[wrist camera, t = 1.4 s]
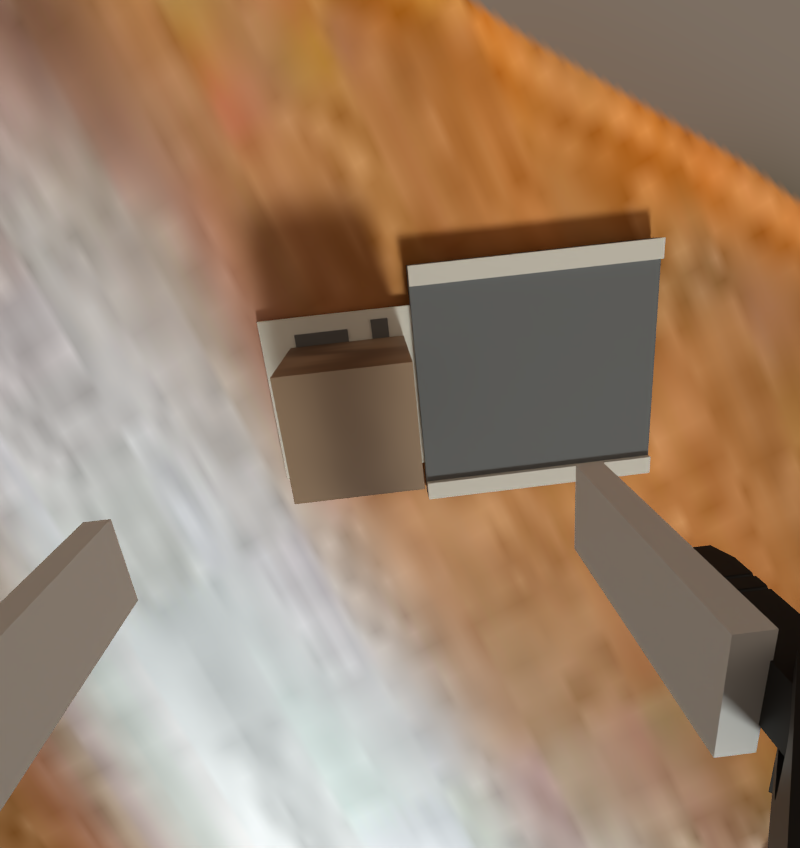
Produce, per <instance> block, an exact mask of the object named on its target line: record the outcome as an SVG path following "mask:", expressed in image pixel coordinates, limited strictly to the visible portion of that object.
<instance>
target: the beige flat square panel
mask: <svg viewBox="0 0 800 848" xmlns="http://www.w3.org/2000/svg"><path fill="white" fill-rule="evenodd" d="M257 326H258V331H259V336H260V341H261V346H262V351H263V357H264V362H265V367H266V372H267V377H268V382H269V387H270V392H271V397H272V402H273V408H274V413H275V418H276V423H277V428H278V433H279V438H280V443H281V448H282V454H283V459H284V464H285V469H286V474H287V479H290V477H289V472H288V467H287V462H286V457H285V452H284V447H283V442H282V437H281V432H280V427H279V422H278V417H277V412H276V407H275V402H274V396H273V391H272V386H271V381H270V377H271V376H272V374H273V373H274V371H275V370H276V369H277V367H278V366H279V364H280V363H281V361H282V360H283V358H284V357H285V355H286V354H287V352H288V351H289V350H290V348H296V347H305V346H314V345H323V344H332V343H340V342H349V341H358V340H367V339H376V338H385V337H394V336H403V335H404V338H405V341H406V344H407V347H408V350H409V353H410V355H411V358H412V361H413V370H414V380H415V391H416V402H417V412H418V423H419V433H420V444H421V454H422V463H424V462H425V459H424V448H423V437H422V427H421V416H420V406H419V395H418V384H417V374H416V363H415V353H414V342H413V331H412V321H411V310H410V305H402V306H393V307H384V308H375V309H366V310H357V311H349V312H340V313H331V314H322V315H313V316H304V317H295V318H286V319H277V320H268V321H259V322H257Z"/></svg>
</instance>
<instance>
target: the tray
mask: <svg viewBox="0 0 800 848" xmlns="http://www.w3.org/2000/svg"><path fill="white" fill-rule="evenodd" d="M664 251H665V238H648V239H639V240H630V241H621V242H612V243H603V244H593V245H584V246H575V247H566V248H557V249H548V250H539V251H530V252H521V253H512V254H503V255H494V256H485V257H476V258H467V259H457V260H448V261H439V262H430V263H421V264H412V265H406V272H407V282H408V293H409V304H410V310H411V321H412V331H413V342H414V353H415V363H416V374H417V384H418V395H419V406H420V416H421V427H422V437H423V448H424V459H425V462H424V463H425V473H426V484H427V492H428V496H429V499H436V498H445V497H453V496H461V495H469V494H478V493H486V492H494V491H502V490H511V489H519V488H527V487H535V486H543V485H552V484H560V483H568V482H576V465H581V464H590V463H599V462H603V463H604V464H605V465H606V466H607V467H608V468H610V469H611V470H612V471H613V472H614V473H615V474H616V475H617V476H626V475H634V474H642V473H649V470H650V456H648V443H649V428H650V413H651V398H652V383H653V368H654V353H655V338H656V323H657V308H658V293H659V278H660V263H661V259H664Z"/></svg>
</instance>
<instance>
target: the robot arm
mask: <svg viewBox="0 0 800 848" xmlns="http://www.w3.org/2000/svg"><path fill="white" fill-rule="evenodd" d="M575 550H576V551H577V553H578V554H579V556H580V557H581V559H582V560H583V562H584V563H585V565H586V566H587V568H588V569H589V571H590V572H591V574H592V575H593V577H594V578H595V580H596V581H597V583H598V584H599V586H600V587H601V589H602V590H603V592H604V593H605V595H606V596H607V598H608V599H609V601H610V602H611V604H612V605H613V607H614V608H615V610H616V611H617V613H618V614H619V616H620V617H621V619H622V620H623V622H624V623H625V625H626V626H627V628H628V629H629V631H630V632H631V634H632V635H633V637H634V638H635V640H636V641H637V643H638V644H639V646H640V647H641V649H642V650H643V652H644V653H645V655H646V657H647V658H648V660H649V661H650V663H651V664H652V666H653V667H654V669H655V670H656V672H657V673H658V675H659V676H660V678H661V679H662V681H663V682H664V684H665V685H666V687H667V688H668V690H669V691H670V693H671V694H672V696H673V697H674V699H675V700H676V702H677V703H678V705H679V706H680V708H681V709H682V711H683V712H684V714H685V715H686V717H687V718H688V720H689V721H690V723H691V724H692V726H693V727H694V729H695V730H696V732H697V733H698V735H699V736H700V738H701V739H702V741H703V742H704V744H705V745H706V747H707V748H708V750H709V751H710V753H711V754H712V756H713V757H714V758H715V757H723V756H731V755H739V754H747V753H755V752H756V749H757V744H758V738H759V733H760V728H762V729H763V731H764V732H765V733H766V734H767V735H768V737H769V738H770V739H771V740H772V742H773V743H774V744H775V745H776V747H777V753H776V758H775V763H774V768H773V773H772V778H771V782H770V787H769V792H770V793H772V802H771V814H770V826H769V838H768V848H800V614H799V613H798V612H797V611H796V610H795V609H793V608H792V607H791V606H790V605H789V604H788V603H787V602H785V601H784V600H783V599H782V598H781V597H780V596H778V595H777V594H776V593H775V592H774V591H773V590H772V589H768V588H767V585H766V584H765V583H763V582H762V581H761V580H760V579H759V578H758V577H757V576H753V574H752V572H751V571H750V570H748V569H747V568H746V567H745V566H744V565H743V564H742V563H740V562H739V561H738V560H737V559H736V558H735V557H733V556H731V555H729V554H727V553H725V552H723V551H721V550H719V549H717V548H715V547H713V546H711V545H709V546H701V547H692V546H691V545H690V544H689V543H688V542H686V541H685V540H684V539H683V538H682V537H681V536H680V535H679V534H678V533H677V532H676V531H675V530H674V529H673V528H672V527H671V526H670V525H669V524H668V523H666V522H665V521H664V520H663V519H662V518H661V517H660V516H659V515H658V514H657V513H656V512H655V511H654V510H653V509H652V508H651V507H650V506H649V505H647V504H646V503H645V502H644V501H643V500H642V499H641V498H640V497H639V496H638V495H637V494H636V493H635V492H634V491H633V490H632V489H631V488H630V487H628V486H627V485H626V484H625V483H624V482H623V481H622V480H621V479H620V478H619V477H618V476H617V475H616V474H615V473H614V472H613V471H612V470H611V469H610V468H608V467H607V466H606V465H605V464H604V463H603V462H599V463H590V464H581V465H576V493H575ZM137 601H138V599H137V596H136V593H135V590H134V587H133V584H132V581H131V578H130V575H129V572H128V569H127V566H126V563H125V560H124V557H123V554H122V551H121V548H120V546H119V543H118V540H117V537H116V534H115V531H114V528H113V525H112V522H111V519H108V520H100V521H91V522H83V523H82V524H81V525H80V526H79V527H78V528H77V529H76V530H75V531H74V532H73V533H72V534H71V535H70V536H69V537H68V538H67V539H66V540H65V541H63V542H62V543H61V544H60V545H59V546H58V547H57V548H56V549H55V550H54V551H53V552H52V553H51V554H50V555H49V556H48V557H47V558H46V559H45V560H44V561H43V562H42V563H41V564H40V565H39V566H38V567H37V568H36V569H35V570H34V571H33V572H32V573H31V574H29V575H28V576H27V577H26V578H25V579H24V580H23V581H22V582H21V583H20V584H19V585H18V586H17V587H16V588H15V589H14V590H13V591H12V592H11V593H10V594H9V595H8V596H7V597H6V598H5V599H4V600H3V601H2V602H1V603H0V811H1V809H2V808H3V806H4V805H5V803H6V802H7V800H8V798H9V797H10V795H11V794H12V792H13V791H14V789H15V788H16V786H17V785H18V783H19V782H20V780H21V779H22V777H23V775H24V774H25V772H26V771H27V769H28V768H29V766H30V765H31V763H32V762H33V760H34V759H35V757H36V756H37V754H38V753H39V751H40V749H41V748H42V746H43V745H44V743H45V742H46V740H47V739H48V737H49V736H50V734H51V733H52V731H53V730H54V728H55V726H56V725H57V723H58V722H59V720H60V719H61V717H62V716H63V714H64V713H65V711H66V710H67V708H68V707H69V705H70V703H71V702H72V700H73V699H74V697H75V696H76V694H77V693H78V691H79V690H80V688H81V687H82V685H83V684H84V682H85V681H86V679H87V677H88V676H89V674H90V673H91V671H92V670H93V668H94V667H95V665H96V664H97V662H98V661H99V659H100V658H101V656H102V654H103V653H104V651H105V650H106V648H107V647H108V645H109V644H110V642H111V641H112V639H113V638H114V636H115V635H116V633H117V631H118V630H119V628H120V627H121V625H122V624H123V622H124V621H125V619H126V618H127V616H128V615H129V613H130V612H131V610H132V609H133V607H134V605H135V604H136V602H137Z"/></svg>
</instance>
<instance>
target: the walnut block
mask: <svg viewBox="0 0 800 848" xmlns="http://www.w3.org/2000/svg"><path fill="white" fill-rule="evenodd" d="M270 381H271V386H272V391H273V396H274V402H275V407H276V412H277V417H278V422H279V427H280V432H281V437H282V442H283V447H284V452H285V457H286V462H287V467H288V472H289V477H290V482H291V487H292V492H293V497H294V502H295V504H300V503H309V502H317V501H326V500H334V499H343V498H351V497H359V496H368V495H376V494H385V493H393V492H402V491H410V490H419V489H425V486H424V475H423V465H422V454H421V444H420V433H419V423H418V412H417V402H416V391H415V380H414V370H413V361H412V358H411V355H410V353H409V350H408V347H407V344H406V341H405V338H404V335H403V336H394V337H385V338H376V339H367V340H358V341H349V342H340V343H332V344H323V345H314V346H305V347H296V348H290V350H289V351H288V352H287V354H286V355H285V357H284V358H283V360H282V361H281V363H280V364H279V366H278V367H277V369H276V370H275V371H274V373H273V374H272V376H271V377H270Z"/></svg>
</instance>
